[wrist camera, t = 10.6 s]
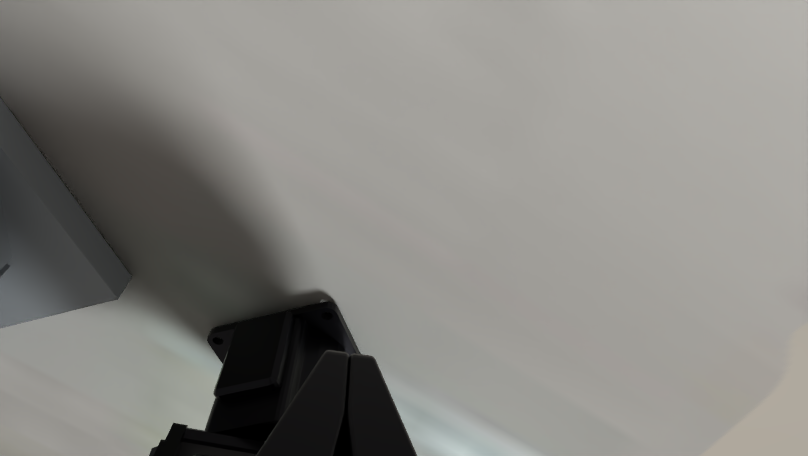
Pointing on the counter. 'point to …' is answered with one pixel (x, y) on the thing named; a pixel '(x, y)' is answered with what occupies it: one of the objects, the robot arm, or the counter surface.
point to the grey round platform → (46, 238)
